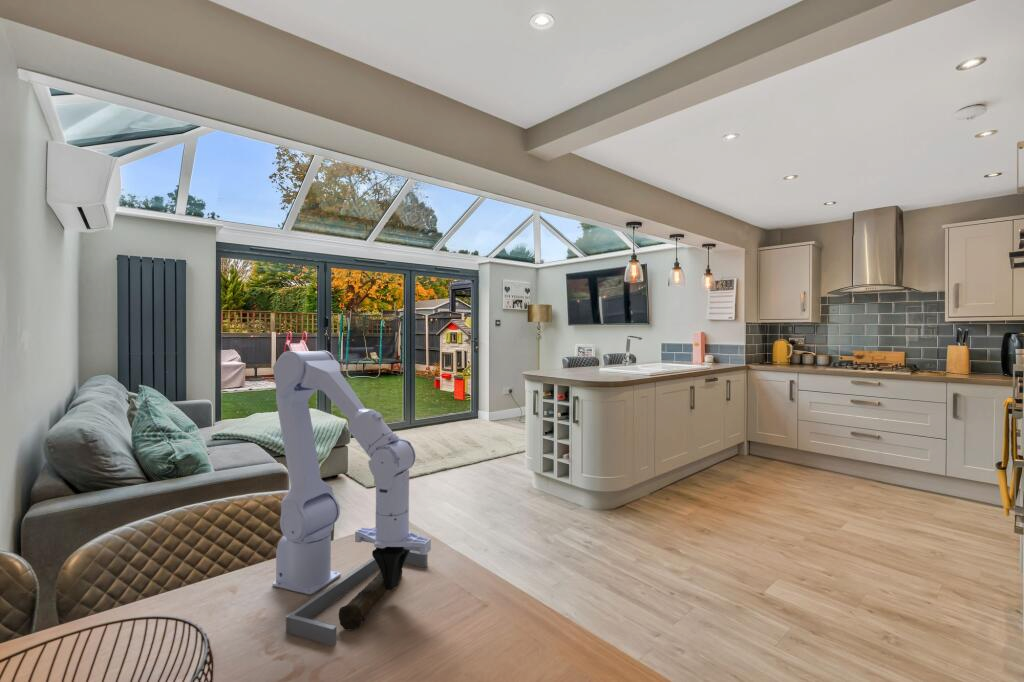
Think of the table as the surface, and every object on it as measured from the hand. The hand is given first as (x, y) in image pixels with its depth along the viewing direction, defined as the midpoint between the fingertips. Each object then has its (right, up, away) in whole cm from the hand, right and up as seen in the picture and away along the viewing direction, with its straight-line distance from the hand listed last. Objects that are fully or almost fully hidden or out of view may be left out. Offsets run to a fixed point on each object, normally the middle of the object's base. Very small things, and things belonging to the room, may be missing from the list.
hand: (391, 587), depth 84 cm
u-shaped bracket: (-5, -2, +2) cm, 6 cm away
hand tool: (-3, -3, 0) cm, 4 cm away
